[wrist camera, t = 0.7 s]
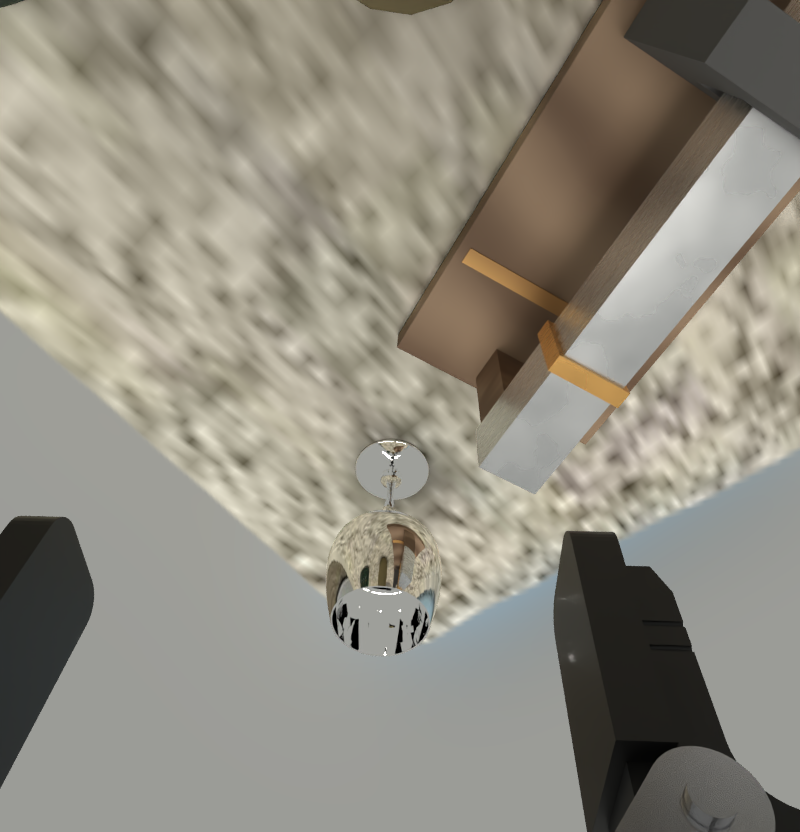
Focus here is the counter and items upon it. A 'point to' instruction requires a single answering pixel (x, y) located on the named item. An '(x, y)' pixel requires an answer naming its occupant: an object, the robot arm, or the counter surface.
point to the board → (561, 209)
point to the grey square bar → (641, 288)
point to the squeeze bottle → (404, 5)
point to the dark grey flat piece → (728, 50)
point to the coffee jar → (8, 2)
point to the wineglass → (385, 560)
